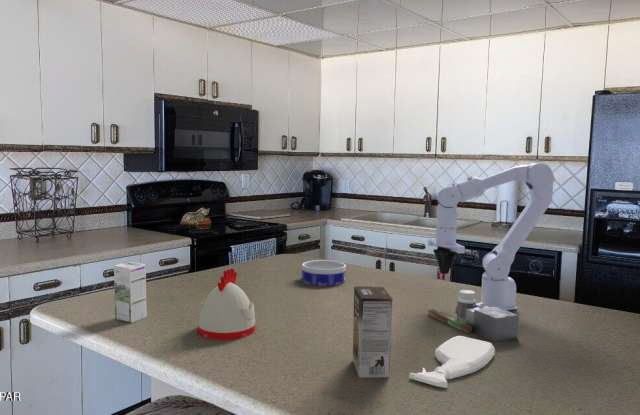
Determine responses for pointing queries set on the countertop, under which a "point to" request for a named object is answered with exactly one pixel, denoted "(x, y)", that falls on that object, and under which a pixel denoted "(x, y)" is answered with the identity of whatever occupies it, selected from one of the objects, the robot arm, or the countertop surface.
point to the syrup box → (130, 291)
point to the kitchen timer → (226, 311)
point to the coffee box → (372, 331)
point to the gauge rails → (450, 320)
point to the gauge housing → (495, 324)
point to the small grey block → (472, 315)
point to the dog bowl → (323, 272)
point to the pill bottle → (465, 304)
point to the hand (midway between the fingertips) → (444, 273)
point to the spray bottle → (457, 360)
